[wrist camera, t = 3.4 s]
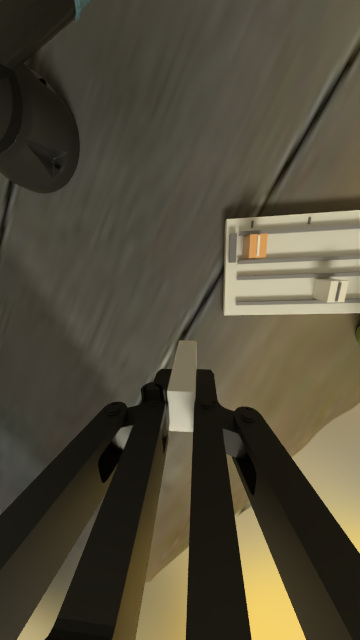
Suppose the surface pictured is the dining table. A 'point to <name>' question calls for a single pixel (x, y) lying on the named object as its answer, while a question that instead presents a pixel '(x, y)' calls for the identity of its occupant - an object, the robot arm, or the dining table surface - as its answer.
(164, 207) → the dining table surface
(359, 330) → the plant pot
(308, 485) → the robot arm
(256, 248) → the fader knob
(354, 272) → the fader panel
